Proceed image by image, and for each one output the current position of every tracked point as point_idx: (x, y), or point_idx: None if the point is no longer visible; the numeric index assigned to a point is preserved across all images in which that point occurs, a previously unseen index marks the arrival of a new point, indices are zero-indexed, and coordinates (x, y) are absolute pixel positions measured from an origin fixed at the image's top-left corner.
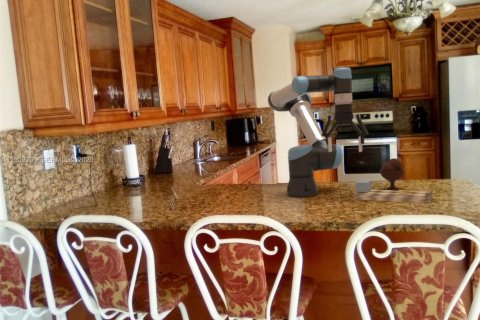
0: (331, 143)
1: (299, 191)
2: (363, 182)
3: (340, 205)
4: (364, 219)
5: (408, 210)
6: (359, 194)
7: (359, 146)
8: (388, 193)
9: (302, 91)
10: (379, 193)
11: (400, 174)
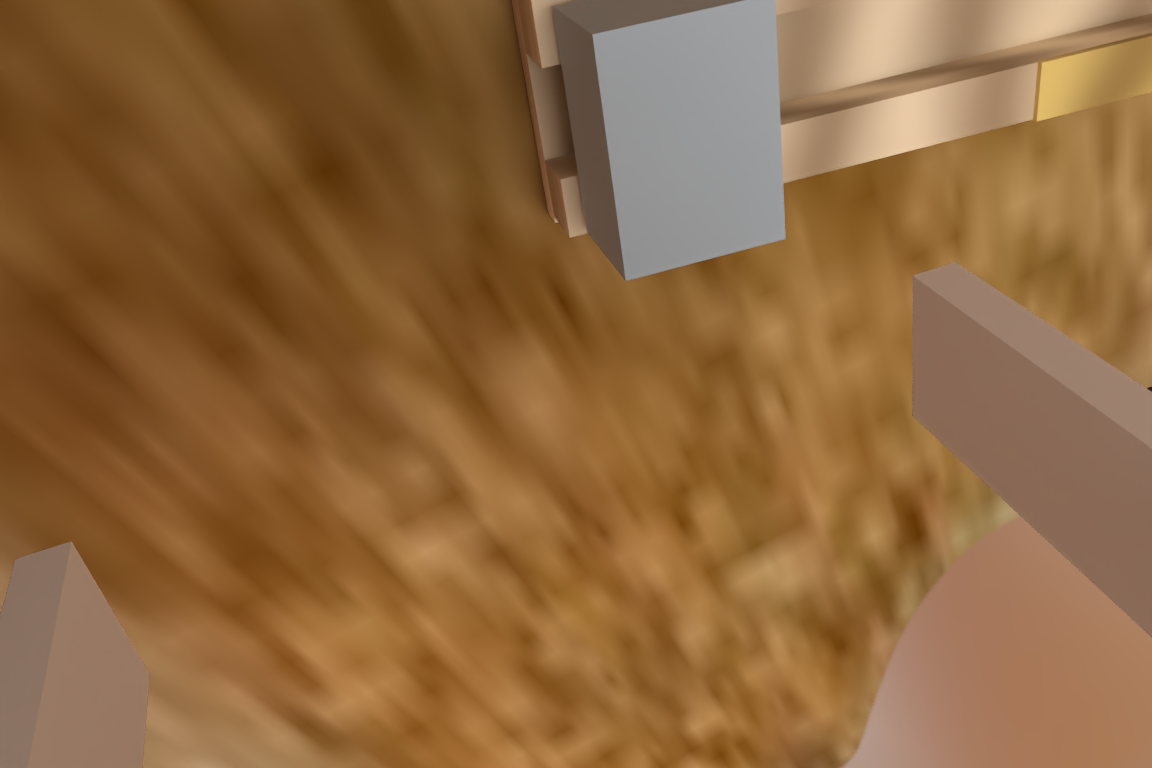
0: (40, 758)
1: None
2: (728, 229)
3: (537, 499)
4: (865, 695)
5: None
6: None
7: (1014, 488)
8: (956, 110)
9: None
10: (863, 155)
11: None
